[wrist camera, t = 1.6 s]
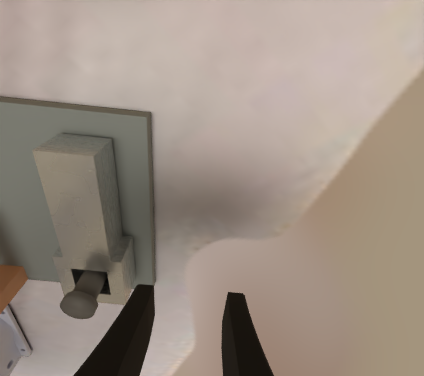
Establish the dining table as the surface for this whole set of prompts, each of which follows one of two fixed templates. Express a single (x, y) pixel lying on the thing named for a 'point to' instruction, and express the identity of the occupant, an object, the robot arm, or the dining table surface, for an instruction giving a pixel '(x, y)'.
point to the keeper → (10, 283)
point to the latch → (86, 213)
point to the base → (36, 201)
